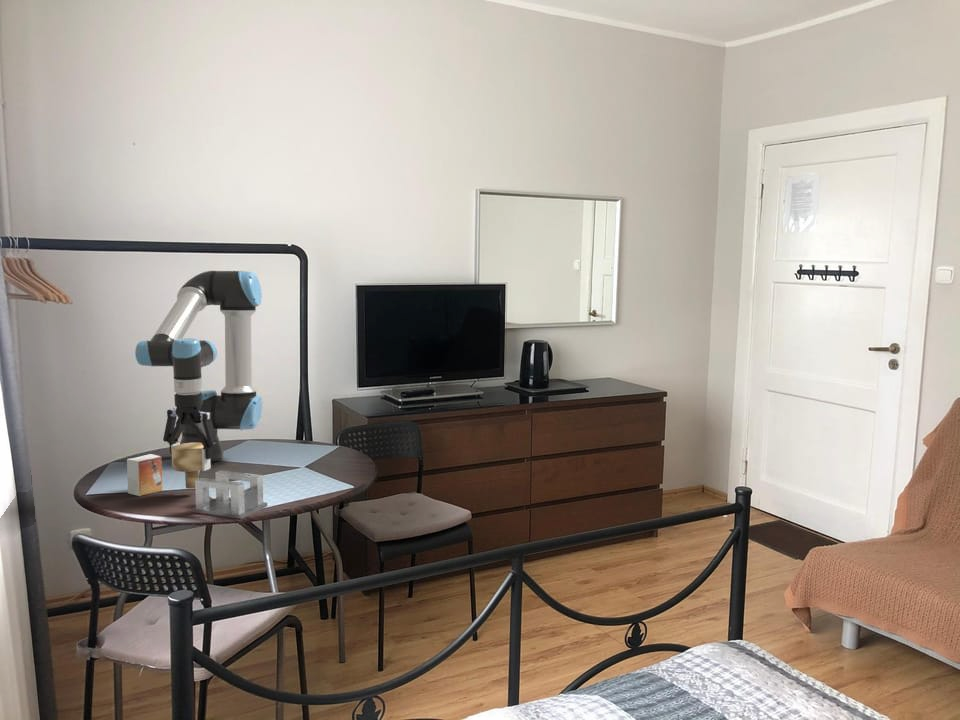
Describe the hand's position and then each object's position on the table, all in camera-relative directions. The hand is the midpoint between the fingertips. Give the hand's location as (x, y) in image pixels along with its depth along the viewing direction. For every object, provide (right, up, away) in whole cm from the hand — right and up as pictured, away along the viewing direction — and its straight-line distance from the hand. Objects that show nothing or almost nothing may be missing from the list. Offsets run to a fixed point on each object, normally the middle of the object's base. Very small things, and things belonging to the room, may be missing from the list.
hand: (191, 467), depth 229 cm
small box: (-15, -8, +4) cm, 17 cm away
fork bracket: (+15, -10, -11) cm, 21 cm away
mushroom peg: (0, -6, +1) cm, 6 cm away
